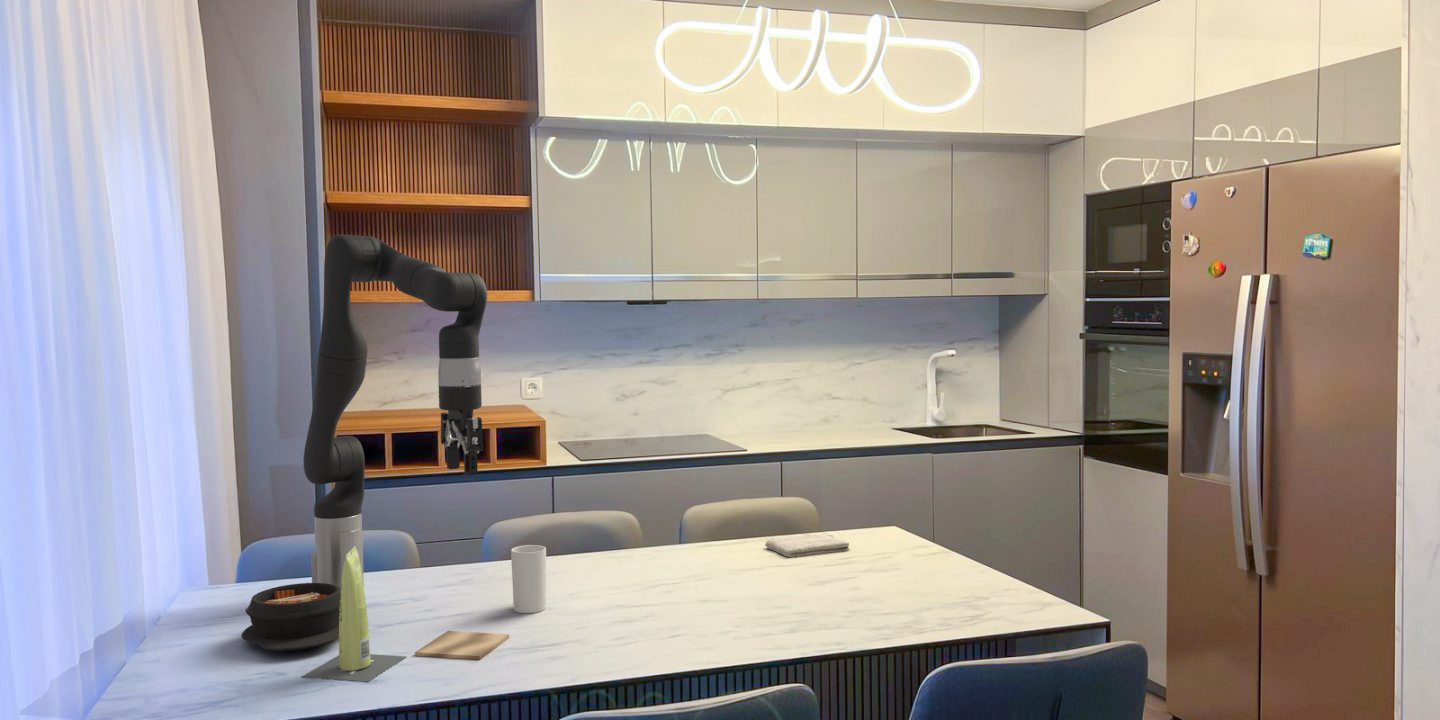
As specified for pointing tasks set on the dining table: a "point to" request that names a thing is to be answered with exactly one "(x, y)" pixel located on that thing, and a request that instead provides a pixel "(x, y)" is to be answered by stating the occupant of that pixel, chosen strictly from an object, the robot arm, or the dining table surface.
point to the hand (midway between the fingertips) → (462, 471)
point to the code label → (365, 675)
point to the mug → (529, 578)
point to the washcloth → (807, 544)
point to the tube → (353, 617)
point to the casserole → (294, 616)
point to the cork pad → (462, 645)
